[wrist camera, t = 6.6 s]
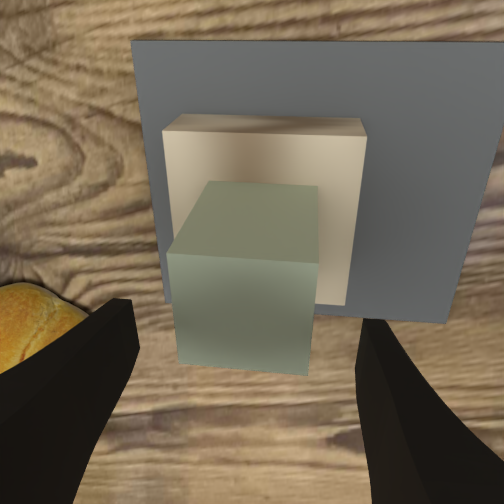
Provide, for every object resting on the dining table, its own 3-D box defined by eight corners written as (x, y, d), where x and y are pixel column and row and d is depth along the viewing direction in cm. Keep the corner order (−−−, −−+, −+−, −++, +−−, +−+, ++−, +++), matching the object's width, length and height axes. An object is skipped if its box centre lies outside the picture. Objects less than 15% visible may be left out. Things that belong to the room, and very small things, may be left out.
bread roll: (0, 255, 26) (-47, 294, 23) (131, 327, 28) (105, 373, 24) (-29, 336, 30) (-73, 379, 27) (86, 394, 32) (59, 442, 28)
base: (359, 118, 19) (367, 136, 16) (341, 271, 23) (344, 305, 20) (182, 113, 20) (162, 130, 17) (194, 262, 24) (180, 293, 21)
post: (317, 185, 17) (318, 263, 12) (309, 277, 20) (307, 375, 14) (208, 180, 18) (166, 253, 13) (213, 270, 20) (178, 363, 15)
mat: (523, 41, 17) (527, 42, 16) (444, 319, 24) (445, 323, 24) (133, 40, 19) (130, 40, 18) (167, 298, 26) (165, 302, 25)
